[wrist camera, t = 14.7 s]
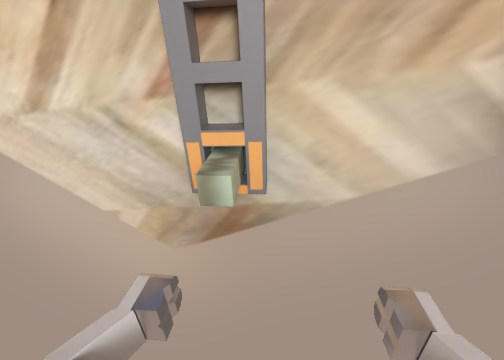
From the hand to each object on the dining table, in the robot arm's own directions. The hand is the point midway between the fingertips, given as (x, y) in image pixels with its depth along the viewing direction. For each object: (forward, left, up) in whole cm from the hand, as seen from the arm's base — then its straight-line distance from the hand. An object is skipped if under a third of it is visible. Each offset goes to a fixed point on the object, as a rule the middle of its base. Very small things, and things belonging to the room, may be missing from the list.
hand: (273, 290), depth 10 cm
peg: (+8, +6, -31) cm, 33 cm away
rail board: (+8, -3, -31) cm, 32 cm away
